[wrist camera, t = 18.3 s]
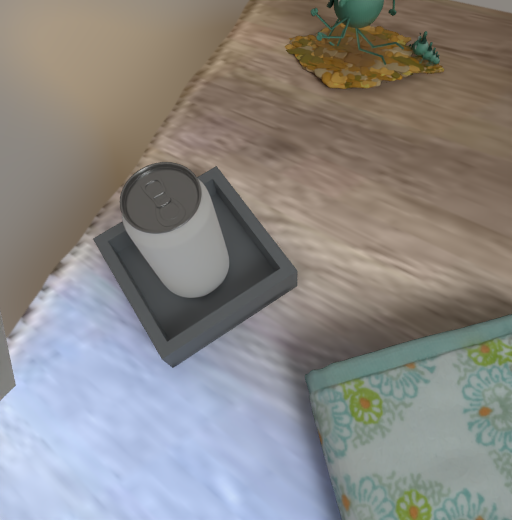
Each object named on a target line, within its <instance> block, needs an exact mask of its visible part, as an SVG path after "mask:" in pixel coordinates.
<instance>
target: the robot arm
mask: <svg viewBox="0 0 512 520" xmlns="http://www.w3.org/2000/svg"><path fill="white" fill-rule="evenodd" d="M15 386H16V384H15V379H14V375H13V370H12V365H11V360H10V355H9V350H8V346H7V341H6V336H5V332H4V326H3V321H2V317H1V312H0V400H1V399H2V398H3V397H4V396H5V395H6V394H7V393H8V392H9V391H10V390H11V389H13V388H14V387H15Z"/></svg>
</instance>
